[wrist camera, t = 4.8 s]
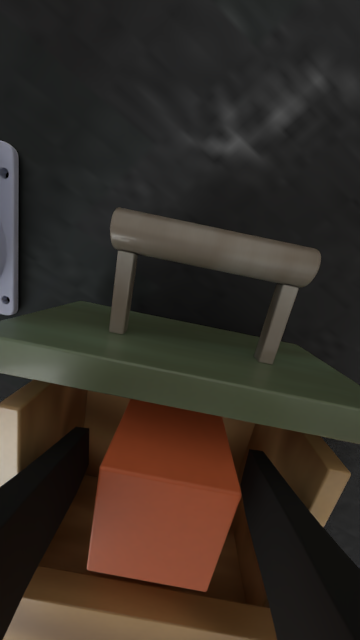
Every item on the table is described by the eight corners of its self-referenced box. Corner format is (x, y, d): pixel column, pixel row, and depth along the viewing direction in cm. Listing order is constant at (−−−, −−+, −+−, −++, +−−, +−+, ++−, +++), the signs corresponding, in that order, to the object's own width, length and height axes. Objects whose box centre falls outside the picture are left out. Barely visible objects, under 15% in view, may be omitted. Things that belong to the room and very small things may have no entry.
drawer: (86, 219, 11) (-51, 145, 4) (324, 269, 11) (506, 263, 5) (67, 463, 15) (-20, 600, 8) (241, 496, 15) (280, 655, 9)
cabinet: (69, 415, 15) (-68, 581, 7) (257, 452, 15) (337, 655, 7) (59, 540, 18) (-42, 751, 10) (215, 569, 18) (237, 798, 10)
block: (144, 367, 11) (98, 468, 5) (214, 382, 11) (243, 495, 6) (132, 431, 12) (84, 571, 7) (197, 443, 12) (207, 594, 7)
